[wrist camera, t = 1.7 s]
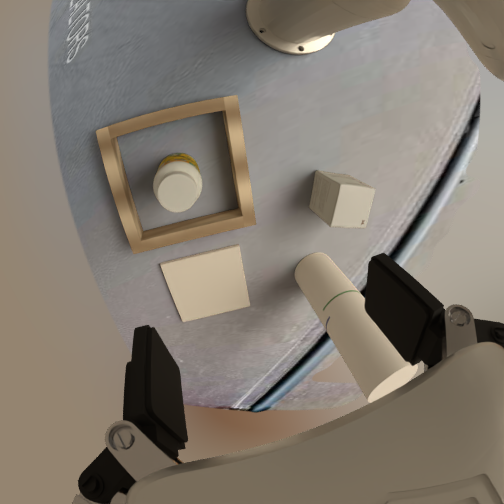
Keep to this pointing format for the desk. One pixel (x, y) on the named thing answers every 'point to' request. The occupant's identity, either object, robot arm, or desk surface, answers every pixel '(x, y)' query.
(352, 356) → the cylindrical container
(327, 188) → the product box
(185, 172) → the supplement bottle
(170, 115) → the wooden square frame
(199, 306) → the pad
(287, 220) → the desk surface
